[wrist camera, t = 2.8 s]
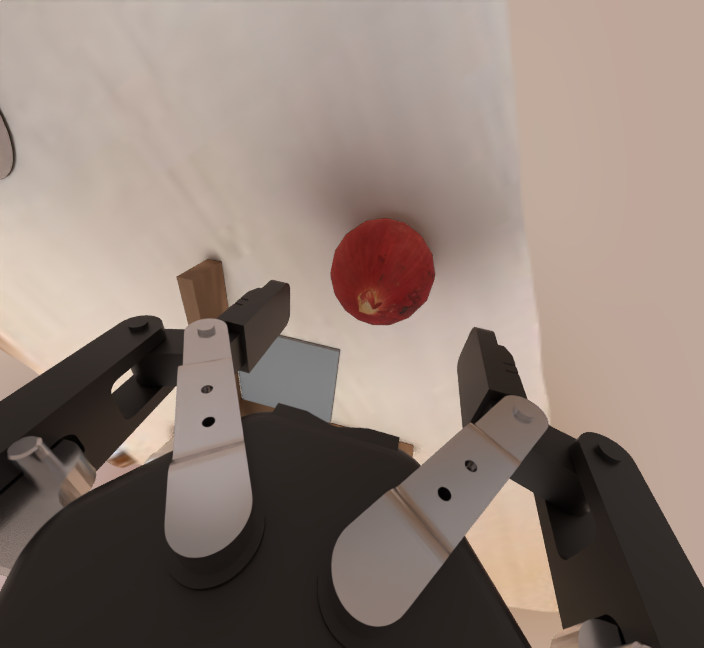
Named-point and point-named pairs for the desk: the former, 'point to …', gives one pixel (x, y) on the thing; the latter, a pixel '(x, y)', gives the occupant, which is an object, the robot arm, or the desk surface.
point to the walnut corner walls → (210, 302)
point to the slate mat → (294, 377)
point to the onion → (382, 272)
